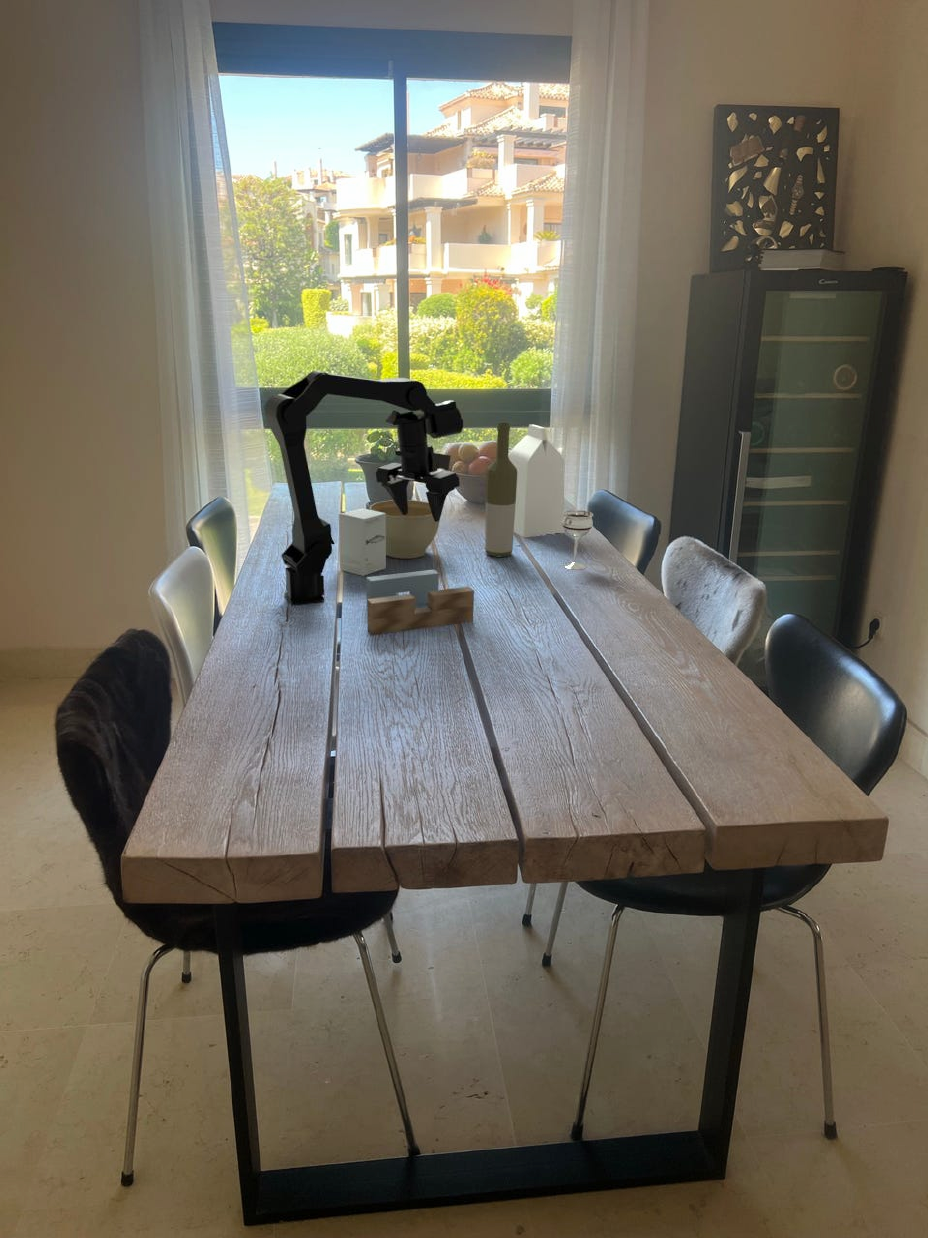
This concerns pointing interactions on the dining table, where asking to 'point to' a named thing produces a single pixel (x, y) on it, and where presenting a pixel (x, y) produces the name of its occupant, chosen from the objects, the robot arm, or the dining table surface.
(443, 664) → the dining table surface
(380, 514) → the supplement box
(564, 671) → the dining table surface
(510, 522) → the bottle
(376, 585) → the slate-blue slotted crosspiece
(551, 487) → the milk
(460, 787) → the dining table surface
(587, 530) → the wineglass
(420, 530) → the planter bowl
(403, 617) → the walnut slotted plate
